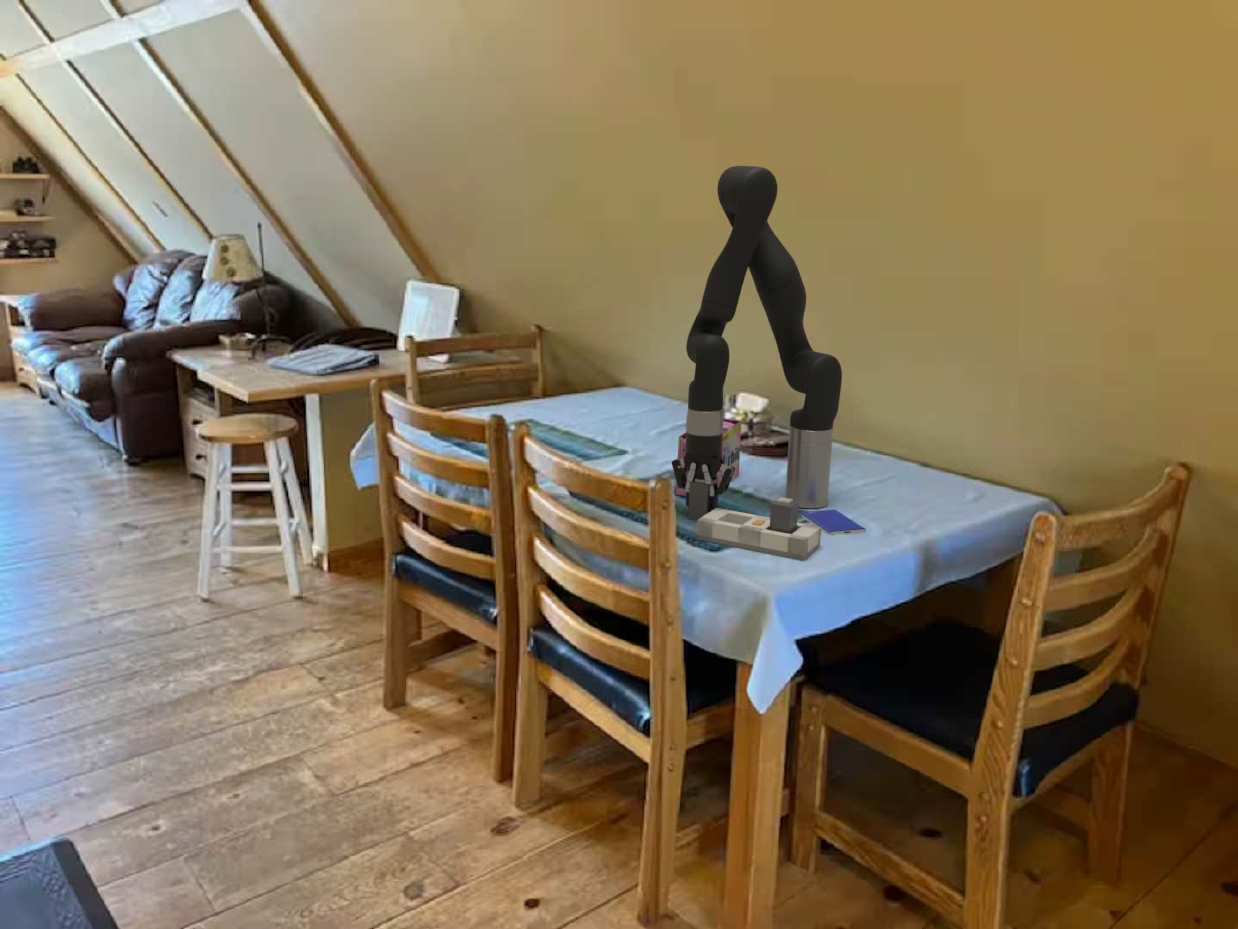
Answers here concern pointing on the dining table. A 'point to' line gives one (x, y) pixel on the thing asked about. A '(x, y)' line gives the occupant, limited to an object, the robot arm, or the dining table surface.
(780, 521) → the twin plug
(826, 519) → the hard drive
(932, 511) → the dining table surface
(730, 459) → the gum box
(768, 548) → the strip
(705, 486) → the plug
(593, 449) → the dining table surface
